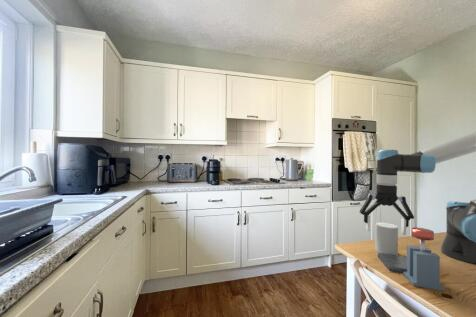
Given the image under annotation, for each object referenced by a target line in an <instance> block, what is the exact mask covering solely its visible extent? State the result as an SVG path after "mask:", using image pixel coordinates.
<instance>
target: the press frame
mask: <svg viewBox="0 0 476 317" xmlns="http://www.w3.org/2000/svg"><path fill="white" fill-rule="evenodd" d="M406 256H407V272H403V273H402V275H403V276H404V277H405V278H406V279H407V281H408V282H409V283H410V284H411V286H413V287H419V288H424V289H425V288H426V289H431V290H432V289H433V290H440V291H444V290H445V289H444V286H443V285H442V284H441V283H440V281H441V280H440V279H441V278H440V277H441V274H440V272H441V270H440V268H441V261H440V260H441V259H440V258H441V257H440V255H438V254H437V253H436V252H432V249H430V248H428V247H426V246H425V252H420V246H416V245H415V246H414V245H406Z"/></svg>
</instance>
